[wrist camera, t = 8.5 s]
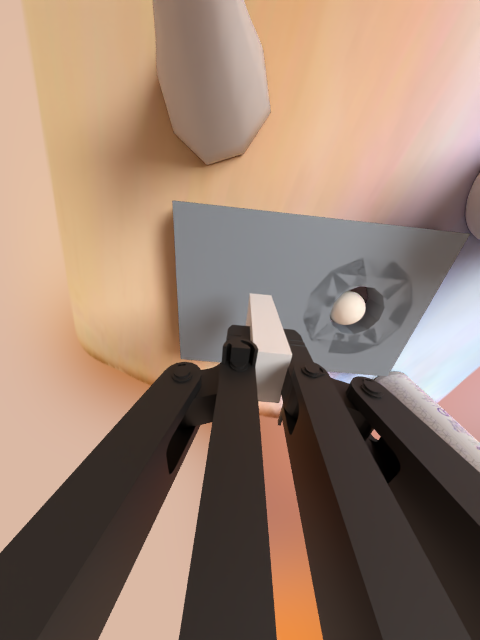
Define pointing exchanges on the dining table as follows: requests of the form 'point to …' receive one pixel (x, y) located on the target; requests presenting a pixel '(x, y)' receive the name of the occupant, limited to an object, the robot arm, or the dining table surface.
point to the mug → (474, 208)
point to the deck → (306, 280)
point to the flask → (211, 75)
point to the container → (433, 416)
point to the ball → (348, 308)
